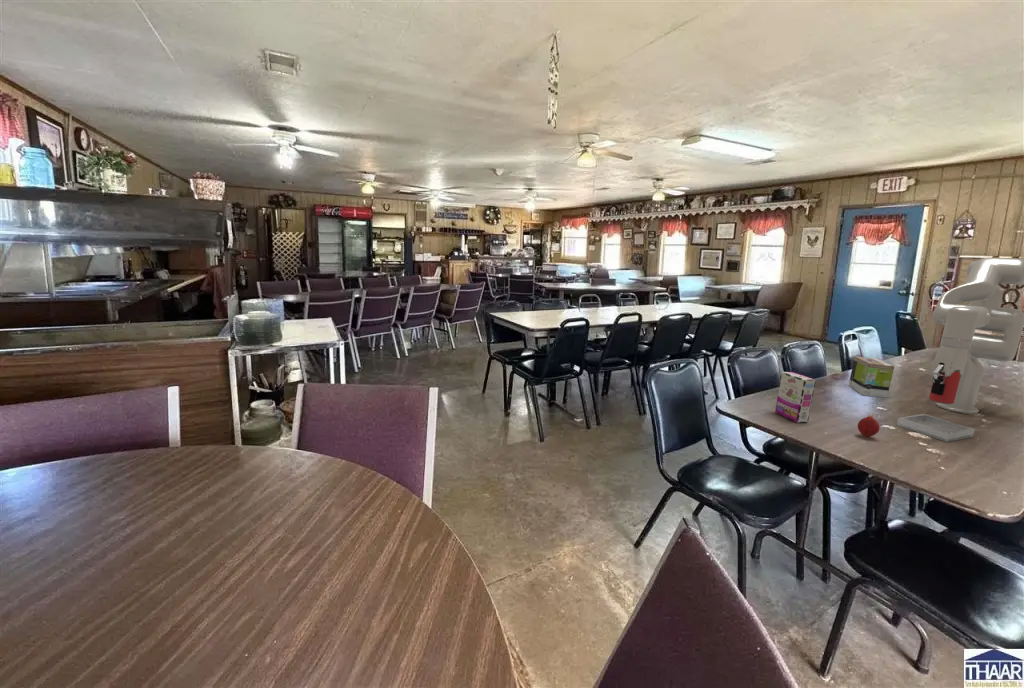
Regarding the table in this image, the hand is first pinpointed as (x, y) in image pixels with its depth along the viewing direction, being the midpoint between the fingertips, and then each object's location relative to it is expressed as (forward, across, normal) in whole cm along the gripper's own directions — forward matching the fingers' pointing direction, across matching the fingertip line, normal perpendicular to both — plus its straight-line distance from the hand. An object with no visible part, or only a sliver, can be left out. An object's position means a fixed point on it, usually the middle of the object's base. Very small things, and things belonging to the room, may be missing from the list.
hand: (943, 392), depth 160 cm
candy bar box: (+15, +39, -24) cm, 49 cm away
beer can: (+3, 0, 0) cm, 3 cm away
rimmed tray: (+14, 0, 0) cm, 14 cm away
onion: (+15, +30, -4) cm, 34 cm away
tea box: (+14, -26, -38) cm, 48 cm away
